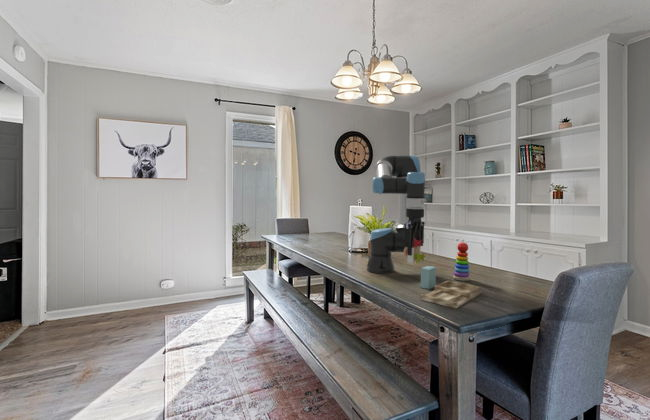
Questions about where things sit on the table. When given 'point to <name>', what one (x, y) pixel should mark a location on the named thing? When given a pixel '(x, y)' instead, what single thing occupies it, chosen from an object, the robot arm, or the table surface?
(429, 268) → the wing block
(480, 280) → the table surface
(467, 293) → the jig
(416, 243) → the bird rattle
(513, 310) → the table surface
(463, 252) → the stacking toy
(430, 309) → the table surface
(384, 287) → the table surface
